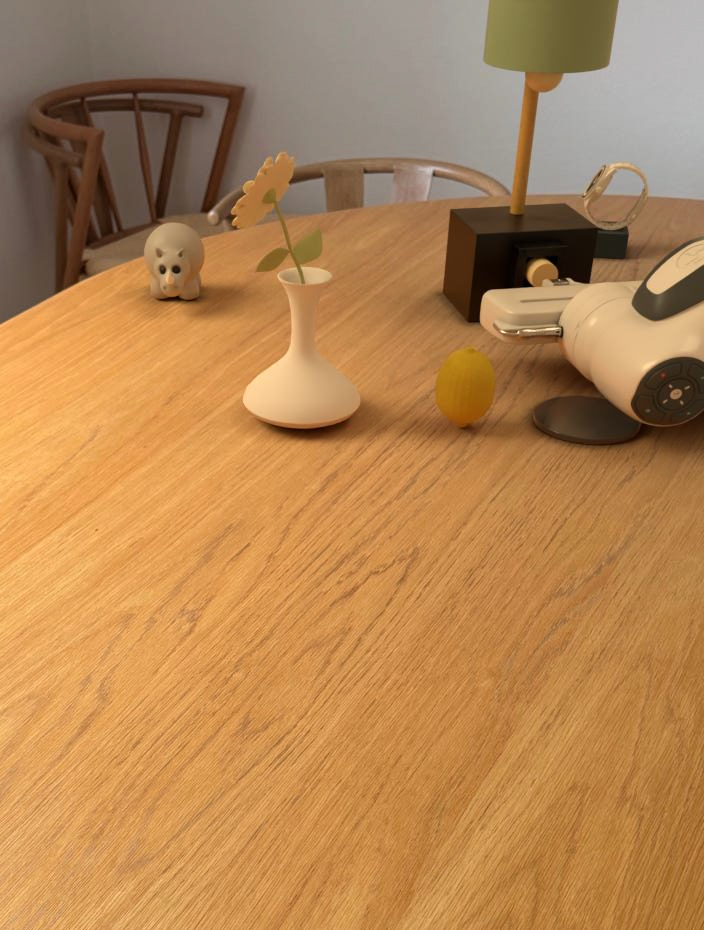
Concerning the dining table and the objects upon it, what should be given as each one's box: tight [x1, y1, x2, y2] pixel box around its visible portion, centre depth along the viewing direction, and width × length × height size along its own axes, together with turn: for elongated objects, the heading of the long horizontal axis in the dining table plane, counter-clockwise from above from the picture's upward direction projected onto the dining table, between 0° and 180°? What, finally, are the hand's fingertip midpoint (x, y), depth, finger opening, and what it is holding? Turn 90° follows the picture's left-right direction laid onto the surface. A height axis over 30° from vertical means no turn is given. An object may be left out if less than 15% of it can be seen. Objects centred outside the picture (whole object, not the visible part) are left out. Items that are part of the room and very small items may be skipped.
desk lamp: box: [442, 0, 620, 323], centre depth 138 cm, size 13×14×34 cm
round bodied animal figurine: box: [143, 221, 206, 301], centre depth 147 cm, size 7×12×8 cm, turn 176°
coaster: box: [532, 395, 642, 446], centre depth 121 cm, size 10×10×1 cm
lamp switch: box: [524, 257, 558, 287], centre depth 139 cm, size 2×3×3 cm
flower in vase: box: [230, 151, 362, 430], centre depth 115 cm, size 13×11×25 cm
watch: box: [581, 161, 649, 260], centre depth 161 cm, size 6×8×11 cm
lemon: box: [434, 346, 497, 429], centre depth 118 cm, size 6×6×8 cm
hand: (554, 285), depth 135 cm, fingers closed
